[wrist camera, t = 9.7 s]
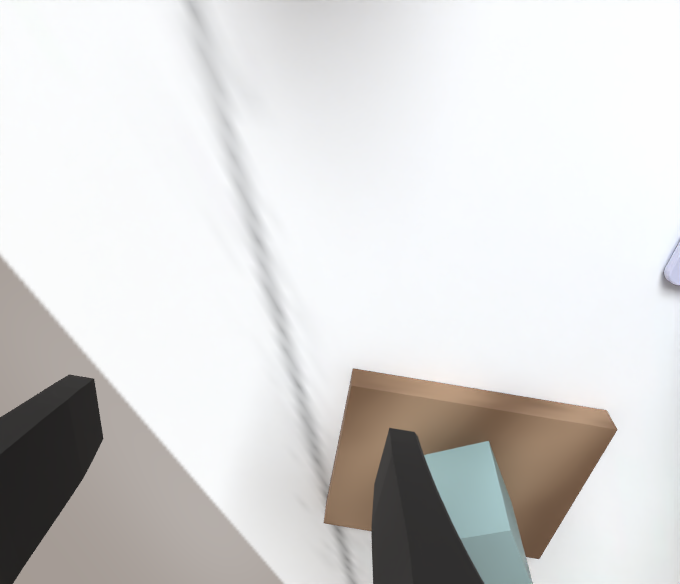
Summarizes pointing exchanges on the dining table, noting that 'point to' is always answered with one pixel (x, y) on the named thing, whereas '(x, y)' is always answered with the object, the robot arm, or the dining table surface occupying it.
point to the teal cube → (481, 511)
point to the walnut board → (466, 429)
